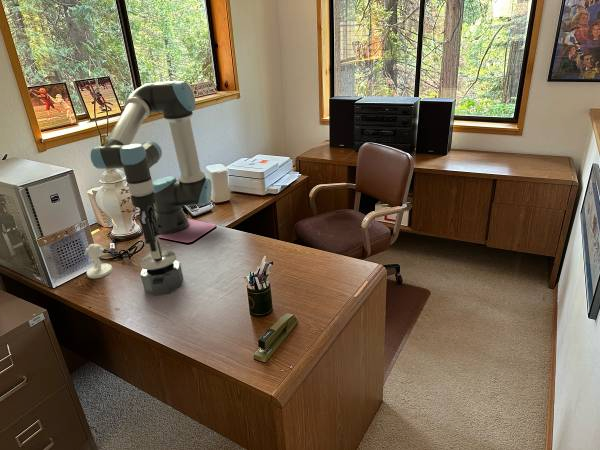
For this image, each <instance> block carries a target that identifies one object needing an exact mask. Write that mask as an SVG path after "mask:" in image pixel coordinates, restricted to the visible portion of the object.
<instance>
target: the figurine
mask: <svg viewBox="0 0 600 450" xmlns="http://www.w3.org/2000/svg"><path fill="white" fill-rule="evenodd" d="M104 250H105V248H103V245H100V244H98V243H90V244H89V245H88V247H86V248H85V252H84V256H85V255H87V254H88V256H89V259H88V263H90V264H91V267H90V268H89V269H87V270H86V276H87V277H88V278H90V279H99V278H100V279H101V278H103V277H106V276H107V275H109V274H111V272H112V271H113V266H112V264H110V263H105V262H102V261H101V259H100V257H101V256H102V255H104V254H105V253H104ZM92 262H93V264H92Z"/></svg>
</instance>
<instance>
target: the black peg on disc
mask: <svg viewBox="0 0 600 450" xmlns="http://www.w3.org/2000/svg"><path fill="white" fill-rule="evenodd" d="M157 244H158V248H159V253H160V257H161V258H159V259H152V256H151V252H150V253H148V254H146V255H145V256H143V257H142V258H140V261H139V264H140V267H141V268H142V269H146V270H158V269H162V268H165V267H167V266H169V265H171V264H172V263H174V262H175V260H176V261H177V256H176V253H175V252H173V251H170V250H162V253H161V250H160V246H159V242H157Z"/></svg>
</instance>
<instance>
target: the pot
mask: <svg viewBox="0 0 600 450" xmlns="http://www.w3.org/2000/svg"><path fill="white" fill-rule="evenodd" d="M140 278H141V281H142V285H143V290H144V292H146V293H148V294H150V295H152V296H154V297H156V296H162V295H171V294H172V293H173V292H175V291H177V290H178V289H180V288H181V286H183V282H184V276H183V271H182V266H181V262H180V261H179V260H177V259H176V260H175V262H174V263H172V264H171V265H169V266H167V267H165V268H162V269H158V270H146V269H143V268H142V269H141V272H140Z"/></svg>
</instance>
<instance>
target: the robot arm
mask: <svg viewBox="0 0 600 450" xmlns="http://www.w3.org/2000/svg"><path fill="white" fill-rule="evenodd" d="M194 94H195V93H194V91H193V89H192V87H191V86H190V85H189V83H188V82H186V81H183V80H180V81H179V80H170V81H160V82H159V81H157V82H148V83H145V84H143V85H141V86H140V87H137V88H136V89H135V90H134V91H133V92H131V93H130V94H129V96H128V97H127V98H126V100H125V102H124V110H123V111H122V113H121V114H120V116H119V118H118V120H117V122H116V123H115V124H114V126H113V128H112V130H111V132H110V133H109V135H108V137H107V139H106V140H105V143H104V144H103V145H102V146H101V145H99V146H95V147H93V148H92V149H91V151H90V161H91V163H92V165H93V167H94V168H96V169H99V170H100V169H101V170H104V169H105V170H110V169H111V170H112V169H113V170H114V169H123V171H124V175H125V179H126V182H127V184H126V188H128V191H129V194H130V199H131V204H132V207H135V208H138V209H139V216H140V217H139V219H138V221H139V223H140V226H141V229H142V232H143V233H142V234H143V236H144V242H145V244H147V245H148V247H149V252H150V253H151V256H152V259H159V258H161V257H160V253H159V248H158V244H157V242H159V246H160V250H161V253H162V251H163V249H162V246H161V241H160V237H159V236H161V234H172V233H178V232H180V231H183V230H184V229H186V228H187V227H188V226H189V219H188V217H187V215H186V213H185V212H184V210H183V208H182V207H183V206H184V207H187V206H188V207H190V206H202V205H203V206H204V205H208V204H209V202H210V201H211V198H212V192H213V191H212V188H213V187H212V186H213V185H212V181H211V179H210V178H207V177H206V174H205V172H203V171H201V166H200V161H199V156H198V151H197V146H196V143H195V142H196V140H195V136H194V131H193V127H192V122H191V118H192V116H193V111H195V109H196V98H195V95H194ZM159 113H160V114H161V113H162V114H163V119H165V120H166V121H167V122H168V123H169V128H170V132H171V137H172V141H173V146H174V149H175V154H176V158H177V163H178V168H179V171H180V175H179V176H178V179H177V178H176V177H175V176H174V175H169V176H168V175H167V176H163V177H161V178H158V179H156V180H152V176H151V170H150V169H151V168H152V167H153V166H154V165H156V164H157V163H158V162H159V161H160V159H161V158H162V155H163V151H162V147H161V146H160V145H159V144H158V143H156V142H155V141H152V140H148V141H144V142H142V143H133V141H134V139H135V137H136V135H137V133H138V131H139V129H140V127H141V125H142V123H143V122H144V120H146V119H147V118H148V117H149V116H150V115H152V114H159Z"/></svg>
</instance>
